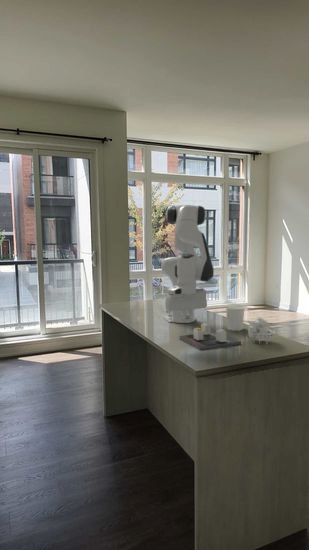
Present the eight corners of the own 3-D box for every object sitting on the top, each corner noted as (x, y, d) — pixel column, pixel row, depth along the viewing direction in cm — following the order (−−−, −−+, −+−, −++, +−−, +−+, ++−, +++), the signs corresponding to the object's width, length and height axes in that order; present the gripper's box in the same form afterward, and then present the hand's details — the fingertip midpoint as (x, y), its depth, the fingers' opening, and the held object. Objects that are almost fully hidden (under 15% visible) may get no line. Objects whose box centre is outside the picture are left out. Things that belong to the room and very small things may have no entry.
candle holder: (230, 331, 189) (230, 309, 188) (223, 327, 199) (223, 306, 198) (247, 330, 191) (247, 308, 190) (239, 326, 200) (239, 305, 199)
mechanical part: (272, 347, 161) (272, 321, 160) (245, 343, 166) (246, 318, 165) (276, 341, 170) (277, 316, 169) (251, 337, 176) (252, 314, 175)
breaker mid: (193, 338, 169) (193, 327, 168) (199, 337, 170) (199, 327, 170) (197, 340, 165) (197, 329, 165) (203, 339, 166) (203, 328, 166)
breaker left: (200, 333, 178) (200, 323, 178) (206, 332, 180) (206, 322, 179) (205, 334, 175) (205, 325, 174) (210, 334, 176) (210, 324, 175)
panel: (179, 338, 175) (179, 335, 175) (217, 334, 184) (217, 331, 183) (199, 350, 157) (199, 346, 157) (241, 344, 165) (241, 340, 165)
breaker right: (216, 340, 166) (216, 329, 165) (221, 339, 167) (221, 328, 166) (220, 342, 162) (220, 331, 161) (226, 341, 163) (226, 330, 163)
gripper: (202, 287, 170) (202, 315, 171) (163, 289, 162) (164, 319, 163) (209, 288, 164) (209, 318, 165) (169, 291, 156) (169, 322, 157)
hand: (186, 318), depth 164 cm, fingers closed
